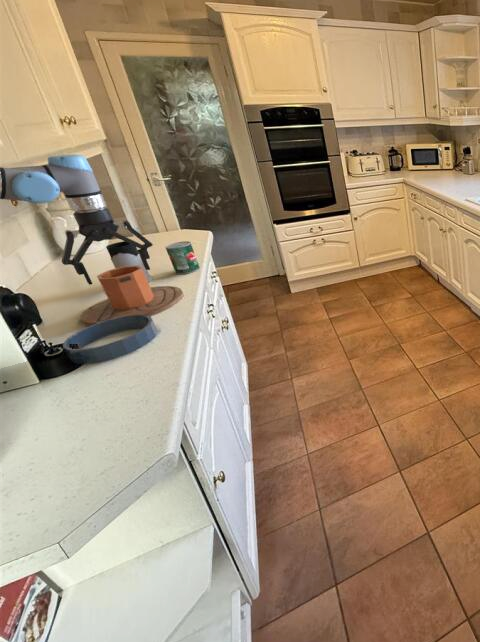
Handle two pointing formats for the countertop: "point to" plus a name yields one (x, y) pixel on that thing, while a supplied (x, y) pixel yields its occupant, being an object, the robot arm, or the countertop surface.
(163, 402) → the countertop surface
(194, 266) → the canned tomato
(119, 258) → the glass holder
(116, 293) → the small pot
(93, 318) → the trivet
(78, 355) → the blue ring
